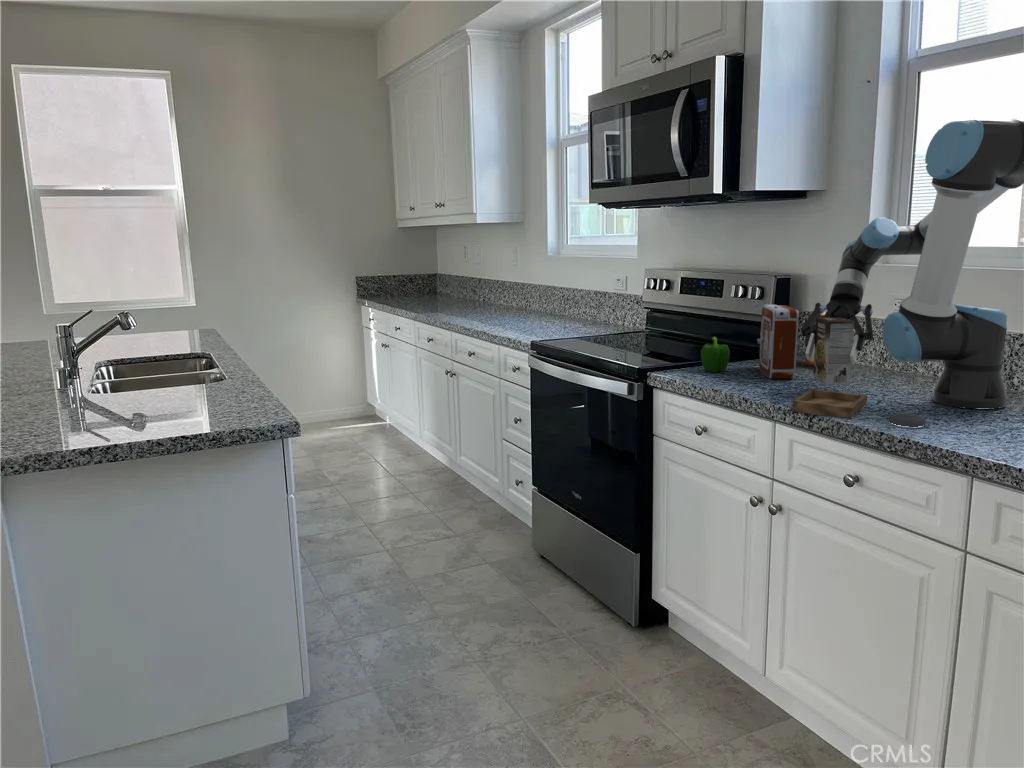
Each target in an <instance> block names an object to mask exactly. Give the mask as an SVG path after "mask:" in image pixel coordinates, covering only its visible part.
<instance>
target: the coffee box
mask: <svg viewBox="0 0 1024 768" xmlns="http://www.w3.org/2000/svg"><path fill="white" fill-rule="evenodd" d="M854 331H855V329H854V321H851V320H848V319H844V318H841V317H817V318H816V331H815V354H814V366H813V379H814V380H816V381H818V382H820V383H822V384H824V385H825V386H828V385H830V386H834V385H836V386H837V385H839V386H841V385H845V386H846V385H851V374H852V363H851V359H850V354H851V350H852V346H853V342H854Z"/></svg>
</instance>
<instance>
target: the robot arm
mask: <svg viewBox="0 0 1024 768" xmlns="http://www.w3.org/2000/svg"><path fill="white" fill-rule="evenodd" d="M924 162H925V164H926V166H925V169H926V172H927V173H928V175H929V176H930V177H932V179H931V185H932V186H933V188H934V189H935V191H936V196H935V199H934V204H933V208H932V210H930V212H929V213H928V214H926V215H925V217H923V218H922V219H920V221H918V222H917V223H916V224H911V225H909V224H907V225H903V224H902V225H898V224H897V223H896V222H895V221H894V220H892V219H891V218H890V219H888V218H887V217H884V216H883V217H882V216H881V217H877V218H874V219H873V220H871V222H869V224H867V225H866V227H864V228H863V230H862V232H861V233H860V235H859V236H858V237H857V239H854V240H853V241H850V242H849V243H847V245H846V246H845V249H844V251H843V252H842V255H841V256H842V257H841V261H840V264H839V268H838V272H837V275H836V279H835V282H834V284H833V289H832V290H831V291H832V292H831V295H830V299H829V302H827V304H821V303H820V302H816V303H815V305H814V309H813V311H812V312H811V313H812V314H811V315H810V316H809V318H808V317H807V320H806V321H805V322H804V323H803V325H802V326H801V327H800V331H801V334H802V337H805V340H804V346H805V347H807V349H806V348H805V359H806V358H807V360H810V358H811V355H812V351H813V348H814V345H815V331H816V324H815V323H816V318H817V317H820V315H821V314H823V312H825V311H826V313H825V315H824V316H823V317H841V318H844V319H848V320H851V321H854V331H855V332H856V335H855V336H854V338H853V346H852V350H851V354H850V359H851V364H854V363H855V362H856V359H857V354H858V352H859V351H860V352H862V351H863V348H864V345H865V341H867V340H869V341H874V333H873V324H872V315H873V306H872V304H870V303H869V304H867V305H862V301H863V296H864V293H865V289H866V286H867V282H868V278H869V275H870V272H871V269H872V268H873V266H874V265H876V263H877V262H879V260H880V259H881V258H882V257H883V256H905V255H906V256H907V255H908V256H910V255H911V256H912V255H913V256H915V255H919V261H918V265H917V268H916V272H915V275H914V279H913V283H912V286H911V287H912V288H911V291H910V294H909V296H906V297H905V298H903V299H901V301H900V303H899V309H898V311H895V312H891V313H890V314H888V315H887V316H886V317H885V319H884V322H883V326H882V337H883V343H884V345H885V348H886V351H888V354H889V355H890V356H891V357H892V358H893V359H894V360H896V361H899V362H902V363H903V362H904V363H915V364H917V363H922V362H923V363H925V362H944V366H943V370H942V372H941V374H940V376H939V378H938V380H937V383H936V385H935V386H934V389H933V394H932V401H933V402H934V403H937V404H940V405H943V404H944V405H943V406H947V405H949V407H952V406H955V407H954V408H958V407H965V408H964V409H966V408H999V407H1003V406H1005V405H1006V406H1007V401H1008V395H1007V391H1006V389H1005V383H1004V380H1003V375H1002V367H1003V366H1002V365H1003V359H1004V358H1003V357H1004V348H1005V342H1006V336H1007V330H1008V327H1007V326H1008V325H1007V321H1008V316H1007V314H1006V312H1005V311H1004V310H1002V309H997V308H992V307H991V308H990V307H984V306H982V307H981V306H974V305H967V304H966V305H965V304H957V303H953V300H954V298H955V297H954V296H955V293H956V290H957V285H958V283H959V279H960V276H961V273H962V269H963V266H964V262H965V259H966V255H967V252H968V249H969V245H970V242H971V238H972V234H973V230H974V228H975V223H976V221H977V217H978V214H979V213H981V211H983V210H985V208H987V207H988V206H990V205H991V204H992V203H993V202H994V201H996V200H997V199H999V198H1000V197H1001V196H1002V195H1004V194H1005V193H1006V192H1007V191H1009V190H1012V189H1017V188H1020V187H1021V186H1022V185H1024V119H1021V118H1009V119H1008V118H1005V119H1004V118H1003V119H1001V118H1000V119H998V118H993V119H992V118H968V119H959V120H958V119H957V120H953V121H950V122H948V123H945V124H944V125H943V126H942V127H941V128H939V129H938V131H937V130H936V132H935V134H934V135H933V137H932V138H931V140H930V141H929V143H928V146H927V149H926V153H925V160H924ZM861 312H862V315H864V317H865V318H864V319H865V326H866V332H864V330H863V328H862V327H861V324H860V323H859V321H858V319H857V317H856V316H857V315H858V314H859V313H861ZM1006 406H1005V407H1006Z"/></svg>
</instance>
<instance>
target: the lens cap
mask: <svg viewBox="0 0 1024 768" xmlns="http://www.w3.org/2000/svg"><path fill="white" fill-rule="evenodd" d="M889 422H890V423H893V424H896V425H901V426H909V427H918V426H923V425H925V426H926V418H924V417H922V416H919V415H913V414H912V415H911V414H903V413H902V414H893V415H889V416H888V423H889Z"/></svg>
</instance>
